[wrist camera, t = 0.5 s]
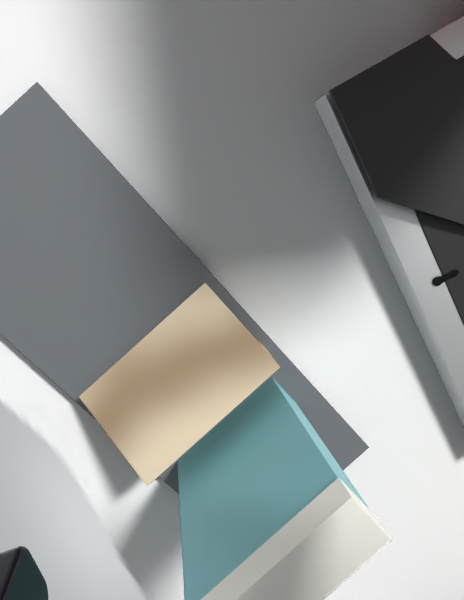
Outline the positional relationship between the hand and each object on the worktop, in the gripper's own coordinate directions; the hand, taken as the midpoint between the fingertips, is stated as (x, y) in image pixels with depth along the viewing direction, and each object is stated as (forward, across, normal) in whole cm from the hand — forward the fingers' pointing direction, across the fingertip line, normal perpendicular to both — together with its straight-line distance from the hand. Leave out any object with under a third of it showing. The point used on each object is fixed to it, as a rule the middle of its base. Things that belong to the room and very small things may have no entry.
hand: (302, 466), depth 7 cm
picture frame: (+14, -18, +2) cm, 23 cm away
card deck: (+13, 0, +9) cm, 16 cm away
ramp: (+14, +2, +5) cm, 15 cm away
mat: (+14, +2, +4) cm, 15 cm away
